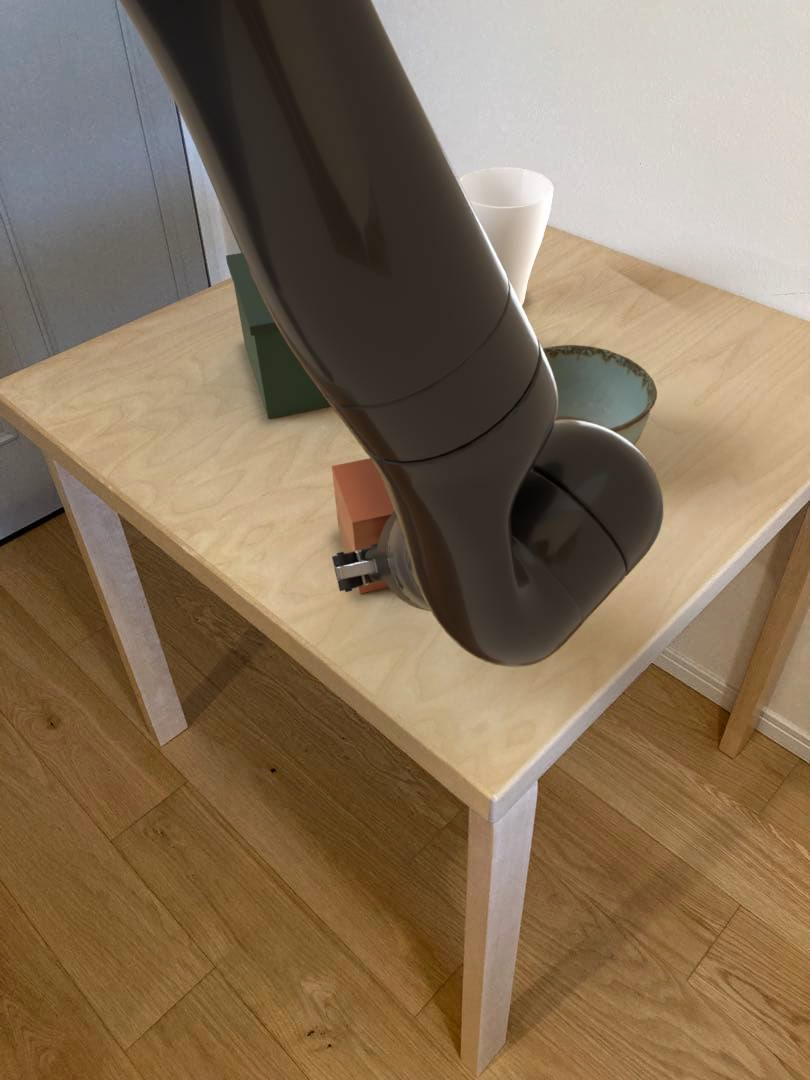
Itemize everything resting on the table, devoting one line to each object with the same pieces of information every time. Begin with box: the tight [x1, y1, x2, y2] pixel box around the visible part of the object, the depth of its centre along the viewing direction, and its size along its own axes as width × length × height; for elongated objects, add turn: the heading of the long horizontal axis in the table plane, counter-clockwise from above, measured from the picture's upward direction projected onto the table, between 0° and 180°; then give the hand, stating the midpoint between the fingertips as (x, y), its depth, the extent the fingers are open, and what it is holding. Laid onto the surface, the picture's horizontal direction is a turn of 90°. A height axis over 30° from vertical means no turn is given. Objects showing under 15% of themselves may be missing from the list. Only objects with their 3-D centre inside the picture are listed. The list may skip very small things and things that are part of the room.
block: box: [331, 457, 394, 595], centre depth 73 cm, size 7×7×8 cm
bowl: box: [542, 344, 658, 446], centre depth 81 cm, size 14×13×8 cm
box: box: [225, 252, 332, 420], centre depth 92 cm, size 15×15×11 cm
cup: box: [459, 166, 554, 306], centre depth 100 cm, size 10×10×14 cm
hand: (401, 555), depth 70 cm, fingers closed
